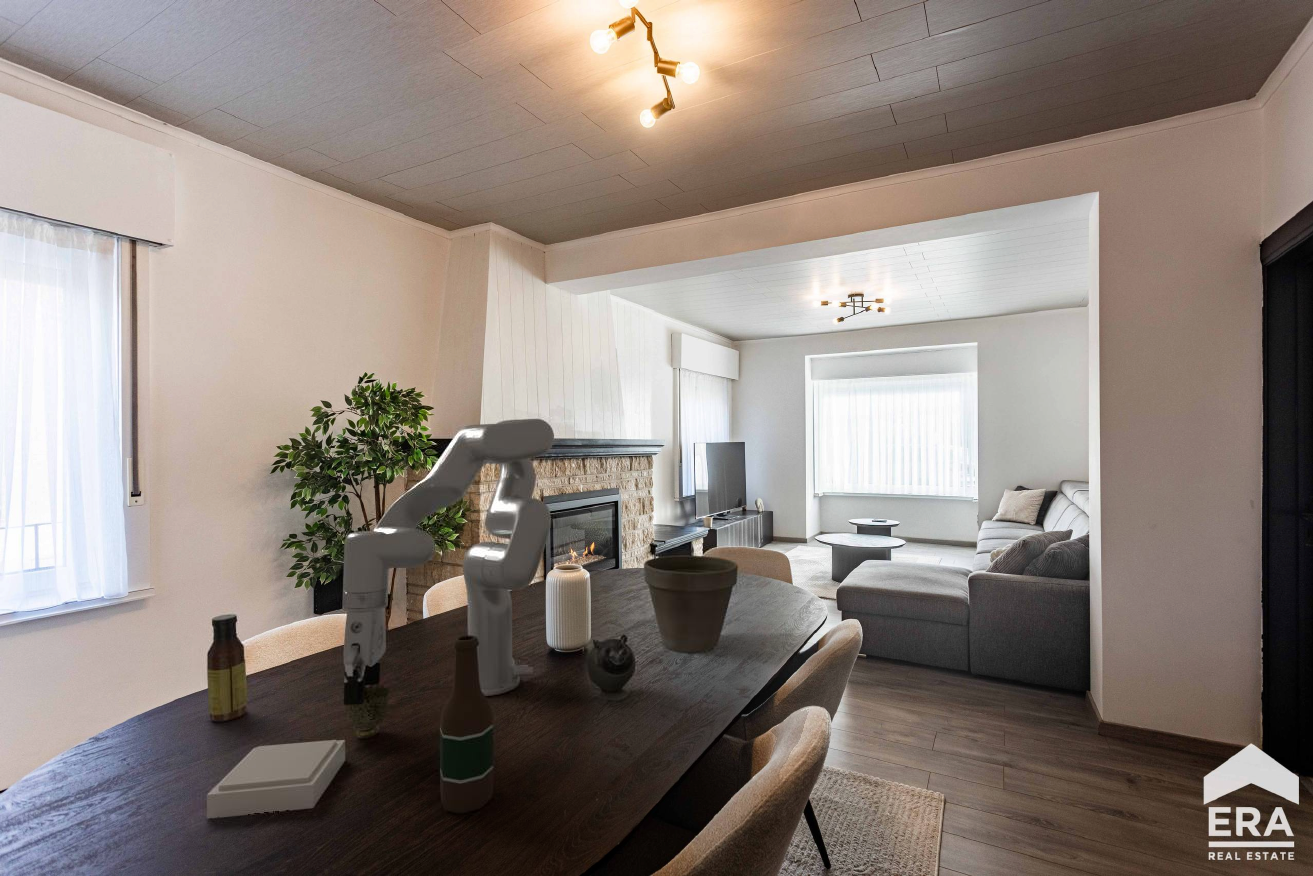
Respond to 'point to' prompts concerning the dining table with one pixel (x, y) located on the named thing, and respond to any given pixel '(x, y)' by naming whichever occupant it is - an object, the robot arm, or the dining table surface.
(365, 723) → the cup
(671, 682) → the dining table surface
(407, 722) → the dining table surface
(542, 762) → the dining table surface
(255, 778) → the pedestal
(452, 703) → the beer bottle
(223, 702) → the sauce bottle
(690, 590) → the plant pot
